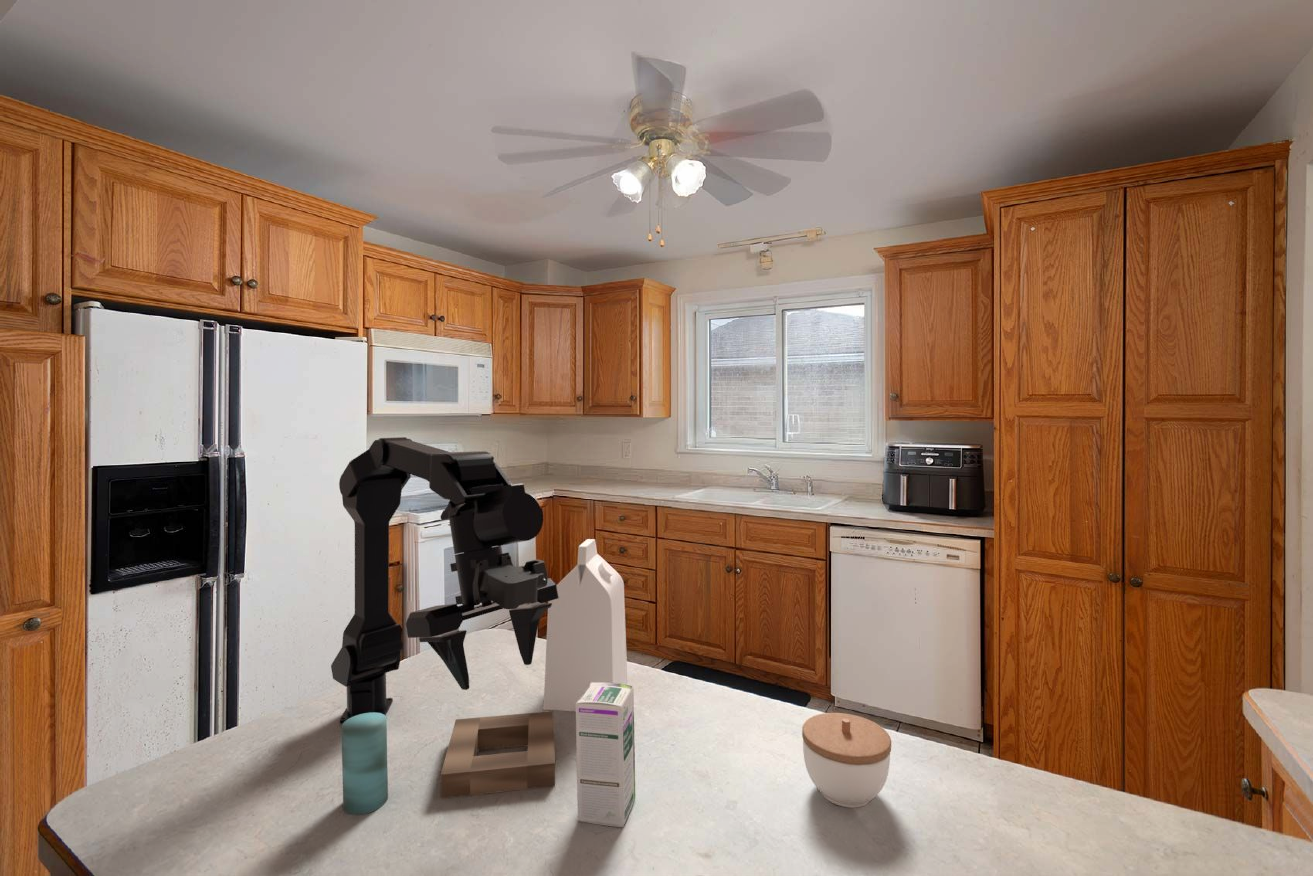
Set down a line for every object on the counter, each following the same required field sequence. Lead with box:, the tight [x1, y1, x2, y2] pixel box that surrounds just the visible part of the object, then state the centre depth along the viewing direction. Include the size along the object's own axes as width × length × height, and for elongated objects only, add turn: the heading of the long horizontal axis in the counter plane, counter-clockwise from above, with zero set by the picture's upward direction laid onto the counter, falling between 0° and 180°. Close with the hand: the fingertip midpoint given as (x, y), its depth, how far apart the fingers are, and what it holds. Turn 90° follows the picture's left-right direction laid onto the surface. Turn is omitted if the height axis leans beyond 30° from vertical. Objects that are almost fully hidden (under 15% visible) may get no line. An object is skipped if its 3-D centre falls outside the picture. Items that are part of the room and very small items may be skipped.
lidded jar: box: [801, 712, 892, 809], centre depth 78 cm, size 11×11×9 cm
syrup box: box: [575, 682, 636, 828], centre depth 75 cm, size 6×6×14 cm
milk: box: [543, 538, 628, 712], centre depth 105 cm, size 12×12×26 cm
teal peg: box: [341, 712, 389, 816], centre depth 77 cm, size 5×5×10 cm
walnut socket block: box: [440, 710, 556, 799], centre depth 85 cm, size 14×14×3 cm
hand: (498, 676), depth 77 cm, fingers open, 9 cm apart
